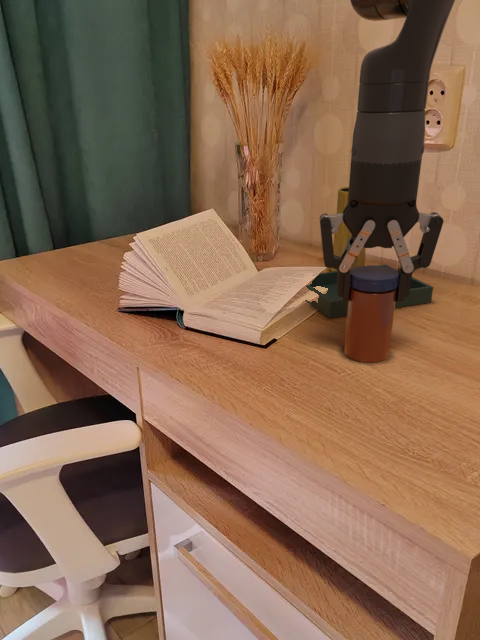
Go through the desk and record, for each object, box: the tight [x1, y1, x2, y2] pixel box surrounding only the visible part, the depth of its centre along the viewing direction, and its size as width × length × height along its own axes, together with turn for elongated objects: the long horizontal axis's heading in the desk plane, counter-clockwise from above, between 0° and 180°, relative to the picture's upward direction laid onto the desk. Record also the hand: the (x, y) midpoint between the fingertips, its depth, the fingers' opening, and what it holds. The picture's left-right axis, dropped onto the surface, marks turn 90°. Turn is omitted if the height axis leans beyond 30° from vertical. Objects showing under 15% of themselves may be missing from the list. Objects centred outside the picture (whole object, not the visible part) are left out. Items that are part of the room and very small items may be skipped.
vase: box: [330, 186, 366, 272], centre depth 105 cm, size 6×6×14 cm
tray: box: [306, 263, 434, 319], centre depth 95 cm, size 17×13×2 cm
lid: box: [350, 264, 400, 292], centre depth 72 cm, size 6×6×2 cm
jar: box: [343, 286, 397, 363], centre depth 75 cm, size 6×6×10 cm
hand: (371, 299), depth 74 cm, fingers closed on lid, 6 cm apart
